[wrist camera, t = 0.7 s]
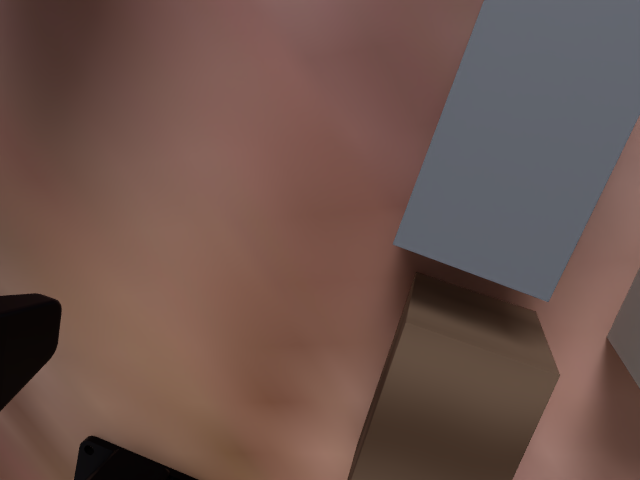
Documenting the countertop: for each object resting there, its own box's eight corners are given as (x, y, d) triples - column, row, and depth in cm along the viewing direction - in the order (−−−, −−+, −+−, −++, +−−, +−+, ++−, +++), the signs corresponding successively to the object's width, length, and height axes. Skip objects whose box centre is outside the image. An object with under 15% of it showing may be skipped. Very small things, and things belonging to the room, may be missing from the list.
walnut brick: (462, 481, 23) (464, 583, 18) (358, 441, 23) (333, 529, 19) (534, 310, 20) (559, 375, 15) (416, 271, 21) (406, 321, 16)
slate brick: (525, 253, 20) (548, 302, 15) (406, 210, 20) (392, 244, 16) (629, 25, 17) (696, -2, 13) (491, -16, 18) (505, -57, 13)
